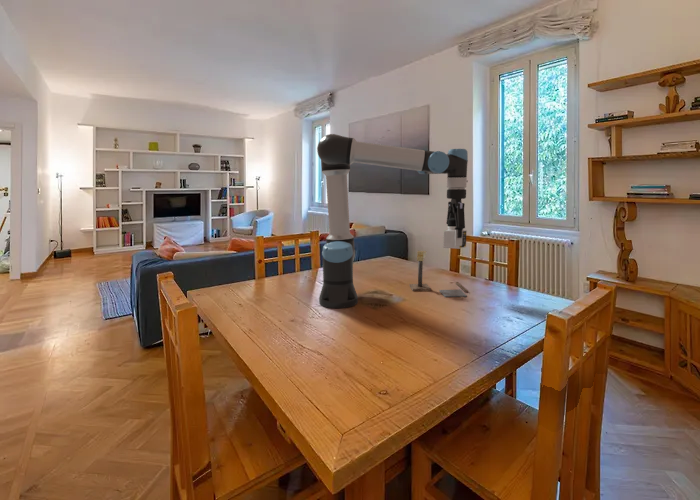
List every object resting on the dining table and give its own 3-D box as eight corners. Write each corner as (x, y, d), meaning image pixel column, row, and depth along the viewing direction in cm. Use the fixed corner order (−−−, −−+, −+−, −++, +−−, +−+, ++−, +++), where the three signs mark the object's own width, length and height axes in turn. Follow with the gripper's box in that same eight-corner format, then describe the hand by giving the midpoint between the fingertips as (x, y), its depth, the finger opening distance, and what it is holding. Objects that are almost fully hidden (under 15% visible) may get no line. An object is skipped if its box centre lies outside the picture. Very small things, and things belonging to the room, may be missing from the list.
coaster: (445, 297, 156) (445, 295, 156) (439, 290, 165) (439, 289, 164) (466, 296, 156) (466, 295, 156) (460, 290, 165) (460, 289, 165)
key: (422, 262, 163) (422, 253, 162) (416, 261, 164) (416, 252, 163) (426, 255, 176) (426, 247, 176) (420, 255, 177) (421, 247, 177)
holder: (413, 293, 162) (414, 264, 160) (408, 284, 176) (408, 257, 173) (467, 292, 162) (468, 263, 160) (457, 283, 176) (458, 257, 174)
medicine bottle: (459, 248, 151) (460, 218, 150) (442, 247, 156) (443, 218, 154) (466, 247, 157) (467, 218, 156) (449, 246, 161) (450, 217, 160)
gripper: (475, 189, 142) (472, 248, 146) (457, 188, 164) (455, 239, 168) (455, 189, 142) (453, 248, 145) (440, 188, 164) (438, 239, 167)
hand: (454, 243), depth 157 cm, fingers closed on medicine bottle, 10 cm apart
